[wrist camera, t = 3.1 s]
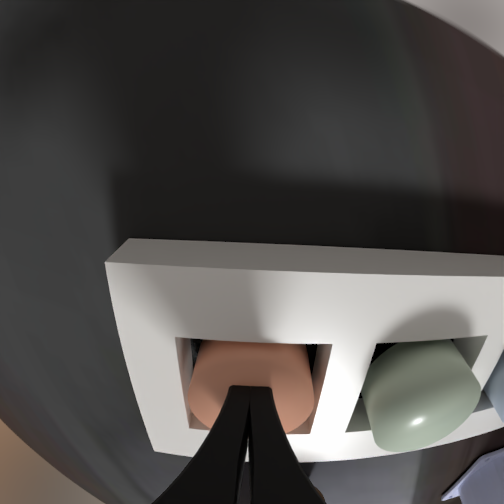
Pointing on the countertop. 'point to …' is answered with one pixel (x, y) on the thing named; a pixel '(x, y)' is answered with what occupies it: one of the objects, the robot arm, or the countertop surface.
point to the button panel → (299, 326)
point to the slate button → (496, 387)
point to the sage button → (418, 394)
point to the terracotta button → (252, 378)
